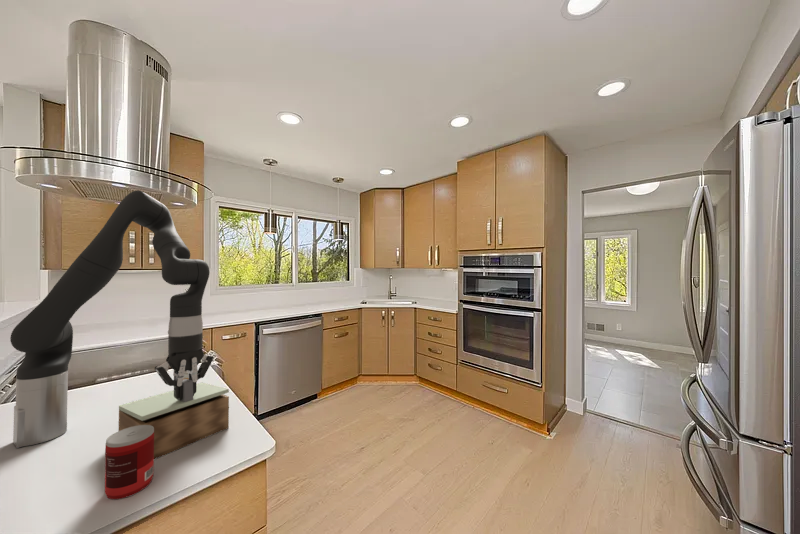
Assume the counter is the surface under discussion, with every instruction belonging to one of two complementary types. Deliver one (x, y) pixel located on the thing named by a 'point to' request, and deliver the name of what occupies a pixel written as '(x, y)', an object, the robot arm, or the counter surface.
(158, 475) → the counter surface
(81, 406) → the counter surface
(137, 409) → the lid
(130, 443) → the canned food
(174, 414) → the storage box
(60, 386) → the robot arm
